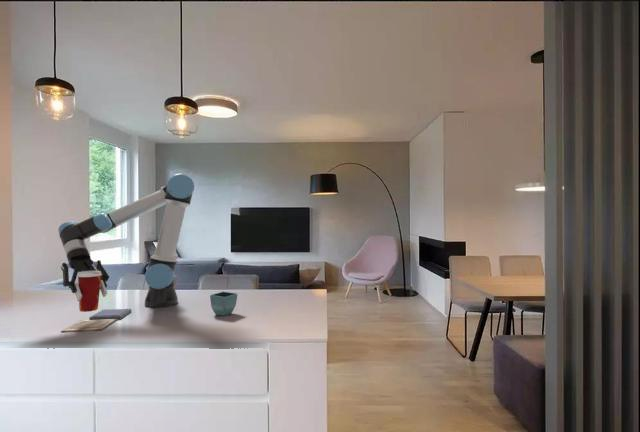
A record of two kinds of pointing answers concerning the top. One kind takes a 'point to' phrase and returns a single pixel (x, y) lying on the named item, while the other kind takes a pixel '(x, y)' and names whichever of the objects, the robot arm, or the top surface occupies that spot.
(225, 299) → the flower pot
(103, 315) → the pad
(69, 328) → the wooden square board
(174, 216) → the robot arm
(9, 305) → the top surface
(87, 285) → the coffee cup
